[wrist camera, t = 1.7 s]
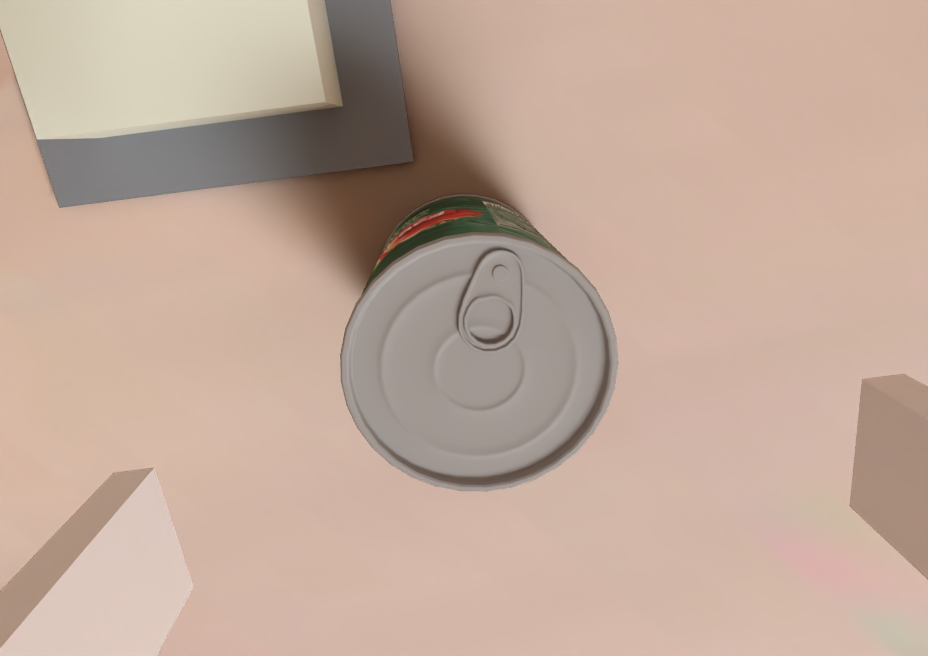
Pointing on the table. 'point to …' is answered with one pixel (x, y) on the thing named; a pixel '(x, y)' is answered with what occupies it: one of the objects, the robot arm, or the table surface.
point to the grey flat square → (257, 130)
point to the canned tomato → (476, 349)
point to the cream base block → (166, 62)
